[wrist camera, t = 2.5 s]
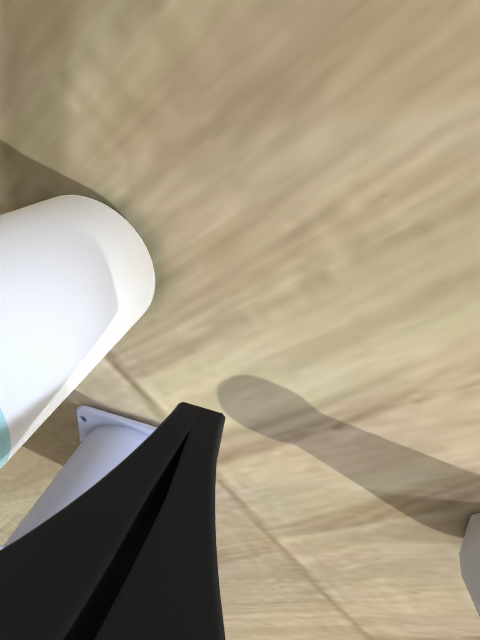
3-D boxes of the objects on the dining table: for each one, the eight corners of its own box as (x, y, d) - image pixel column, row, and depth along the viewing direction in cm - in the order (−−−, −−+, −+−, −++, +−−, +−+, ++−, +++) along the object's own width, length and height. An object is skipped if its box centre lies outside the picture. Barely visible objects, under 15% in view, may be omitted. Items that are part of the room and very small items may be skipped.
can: (79, 158, 16) (-337, 246, 6) (188, 274, 18) (-1, 490, 8) (14, 250, 20) (-321, 402, 10) (111, 340, 21) (-88, 549, 11)
